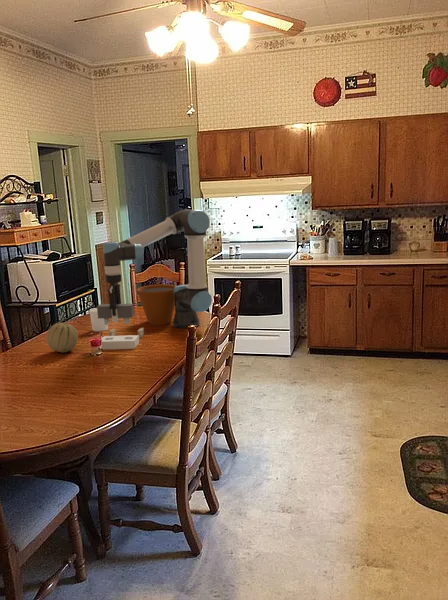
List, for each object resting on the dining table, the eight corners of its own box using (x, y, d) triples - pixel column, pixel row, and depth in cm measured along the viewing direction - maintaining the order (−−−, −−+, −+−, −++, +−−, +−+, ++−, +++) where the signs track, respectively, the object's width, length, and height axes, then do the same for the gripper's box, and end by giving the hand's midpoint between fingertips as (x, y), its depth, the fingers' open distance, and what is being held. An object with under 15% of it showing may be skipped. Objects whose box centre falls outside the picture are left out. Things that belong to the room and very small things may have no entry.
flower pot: (136, 319, 320) (134, 286, 316) (175, 314, 327) (173, 282, 322) (142, 328, 298) (140, 293, 293) (184, 323, 304) (182, 289, 300)
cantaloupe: (41, 354, 258) (37, 324, 255) (63, 346, 271) (60, 317, 267) (64, 357, 251) (60, 327, 248) (85, 349, 264) (82, 319, 261)
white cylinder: (107, 332, 293) (105, 311, 291) (89, 332, 294) (87, 311, 291) (111, 327, 303) (109, 307, 301) (94, 328, 303) (92, 307, 301)
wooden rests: (144, 335, 284) (143, 327, 283) (141, 338, 278) (141, 331, 277) (112, 336, 285) (111, 328, 284) (109, 339, 279) (108, 331, 278)
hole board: (139, 342, 270) (138, 335, 269) (135, 348, 261) (134, 340, 260) (104, 343, 271) (103, 336, 271) (99, 349, 262) (98, 341, 261)
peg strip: (134, 322, 265) (133, 303, 263) (132, 324, 260) (131, 305, 259) (101, 322, 266) (99, 304, 264) (98, 325, 262) (97, 306, 260)
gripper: (110, 271, 267) (114, 316, 272) (100, 277, 250) (104, 325, 254) (125, 271, 267) (128, 316, 272) (115, 276, 249) (119, 324, 254)
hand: (116, 320), depth 263 cm, fingers closed on peg strip, 5 cm apart
